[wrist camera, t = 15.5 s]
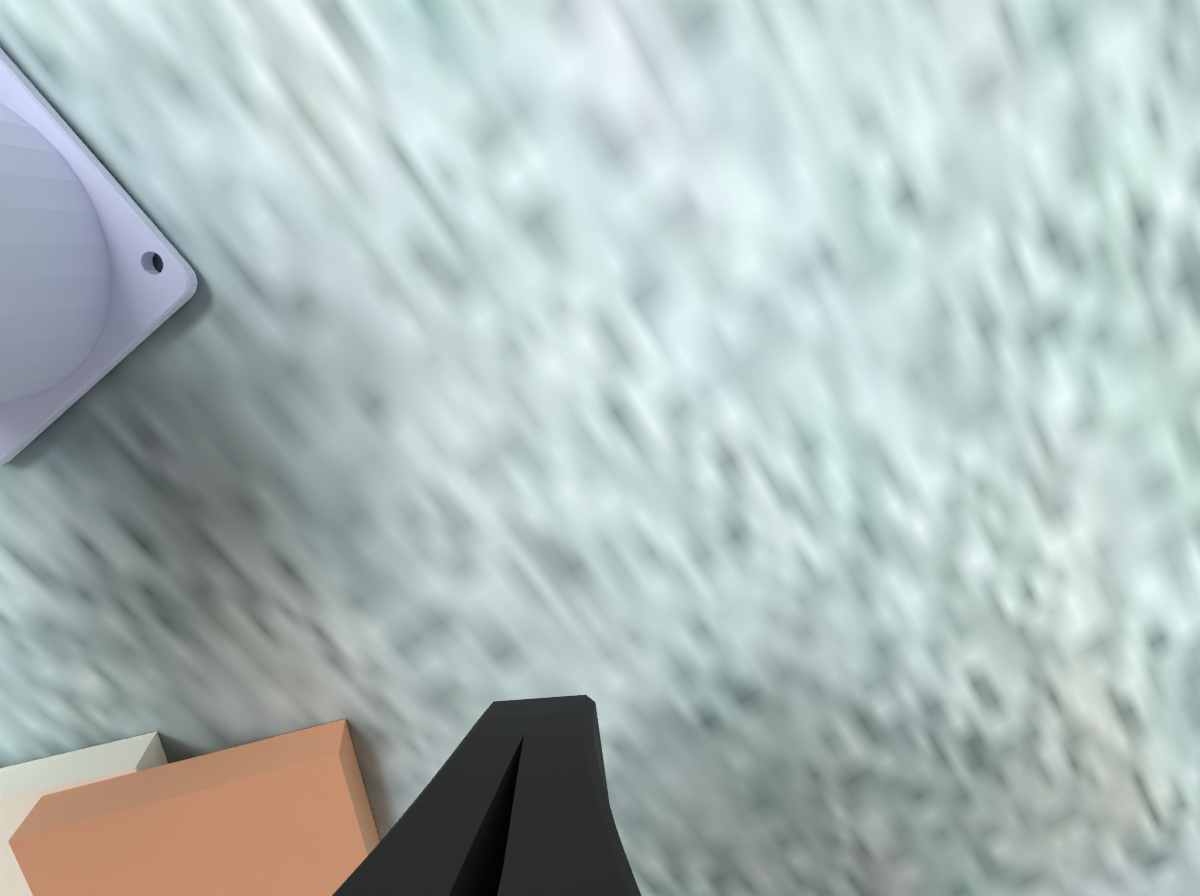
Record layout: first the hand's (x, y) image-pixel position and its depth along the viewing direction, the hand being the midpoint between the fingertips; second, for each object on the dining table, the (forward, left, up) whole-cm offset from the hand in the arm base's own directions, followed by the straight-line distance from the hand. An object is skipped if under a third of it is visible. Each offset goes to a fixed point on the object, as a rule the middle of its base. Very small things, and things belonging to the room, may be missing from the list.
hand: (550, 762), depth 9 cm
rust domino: (+3, -11, -9) cm, 14 cm away
